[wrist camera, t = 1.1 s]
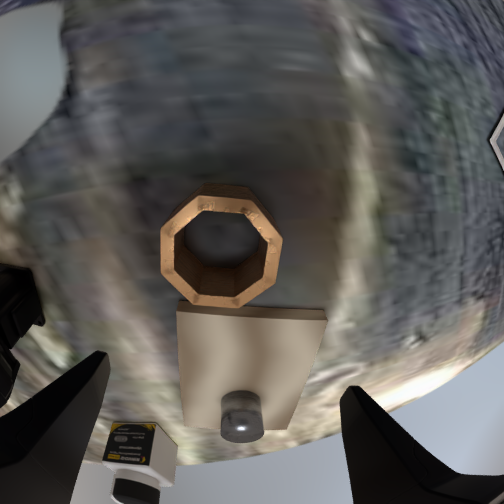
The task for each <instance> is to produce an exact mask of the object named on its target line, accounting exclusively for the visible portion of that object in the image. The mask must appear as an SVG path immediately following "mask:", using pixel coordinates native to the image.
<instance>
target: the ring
mask: <svg viewBox="0 0 504 504" xmlns="http://www.w3.org/2000/svg"><path fill="white" fill-rule="evenodd" d="M203 210H207V211H219V212H230V213H240V214H244V215H245V216H246V217H247V218H248V219H249V221H250V222H251V223H252V224H253V225H254V227H255V228H256V229H257V230H258V231H259V233H260V239H259V246H258V251H257V252H256V253H255V254H253V255H252V256H250V257H249V258H248V259H246V260H245V261H244V262H242V263H241V264H240V265H238V266H237V267H236V268H234V269H232V268H220V267H209V266H204V265H203V264H202V263H201V262H200V261H199V260H198V259H197V258H196V257H195V256H194V255H193V254H192V253H191V252H190V251H189V250H188V248H187V247H186V246H185V245H184V228H185V225H186V224H187V223H189V222H190V221H191V220H192V219H193V218H194V217H196V216H197V215H198V214H199V213H200V212H202V211H203ZM282 241H283V238H282V236H281V234H280V232H279V229H278V227H277V225H276V223H275V220H274V218H273V217H272V216H271V215H270V213H269V212H268V211H267V210H266V208H265V207H264V206H263V205H262V203H261V202H260V201H259V200H258V198H257V197H256V196H255V195H254V194H253V192H252V191H251V190H250V189H249V187H244V186H234V185H223V184H212V183H205V184H204V185H202V186H201V187H200V188H199V189H198V190H196V191H195V192H194V193H193V194H192V195H190V196H189V197H188V198H187V199H186V200H185V201H184V202H182V203H181V204H180V205H179V206H178V207H177V208H176V209H174V211H173V212H172V213H171V215H170V216H169V217H168V219H167V220H166V222H165V223H164V224H163V226H162V227H161V274H162V275H163V276H164V277H165V278H166V279H167V280H168V281H169V282H170V283H171V284H172V285H173V286H174V287H175V288H176V289H177V290H178V291H179V292H181V293H182V294H183V295H184V296H185V297H186V298H187V299H188V300H189V301H190V302H191V303H192V304H193V305H203V306H214V307H226V308H240V307H241V306H243V305H244V304H246V303H247V302H249V301H250V300H252V299H253V298H254V297H256V296H257V295H259V294H260V293H262V292H263V291H265V290H266V289H267V288H269V287H270V286H272V285H273V284H275V281H276V275H277V270H278V264H279V259H280V253H281V247H282Z"/></svg>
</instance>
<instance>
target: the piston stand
mask: <svg viewBox="0 0 504 504" xmlns="http://www.w3.org/2000/svg"><path fill="white" fill-rule="evenodd" d="M176 313H177V341H178V360H179V375H180V388H181V399H182V410H183V419H184V426H189V427H199V428H211V429H221V399H222V397H223V396H224V395H225V394H227V393H229V392H232V391H237V390H246V391H251V392H253V393H255V394H257V395H258V396H259V397H260V399H261V408H262V417H263V426H264V430H285V429H287V427H288V425H289V423H290V420H291V418H292V416H293V413H294V411H295V409H296V406H297V404H298V401H299V399H300V396H301V394H302V392H303V389H304V386H305V384H306V381H307V379H308V376H309V373H310V371H311V368H312V365H313V363H314V360H315V357H316V355H317V352H318V349H319V346H320V343H321V340H322V337H323V334H324V331H325V328H326V325H327V322H328V319H327V317H326V315H325V313H324V311H323V310H307V309H284V308H265V307H250V306H241V307H240V308H226V307H214V306H203V305H193V304H192V303H191V302H189V301H179V304H178V307H177V311H176Z"/></svg>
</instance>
